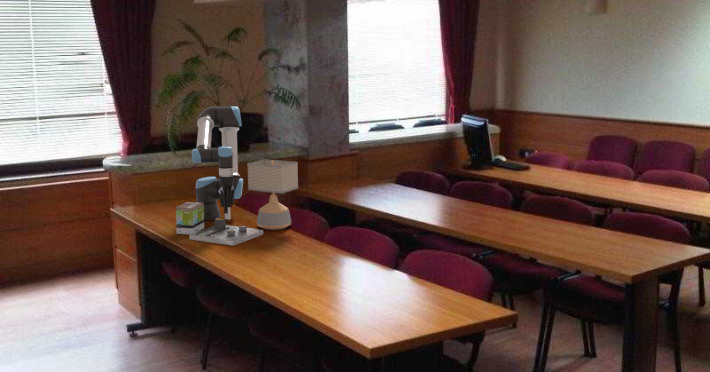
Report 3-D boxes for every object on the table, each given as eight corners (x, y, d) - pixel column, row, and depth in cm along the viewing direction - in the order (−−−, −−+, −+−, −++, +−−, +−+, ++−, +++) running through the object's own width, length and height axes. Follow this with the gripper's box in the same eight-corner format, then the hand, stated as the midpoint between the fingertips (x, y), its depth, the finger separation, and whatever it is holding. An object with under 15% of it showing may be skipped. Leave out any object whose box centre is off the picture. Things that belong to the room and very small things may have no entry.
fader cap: (218, 227, 422) (218, 217, 422) (225, 228, 420) (225, 218, 419) (214, 228, 420) (214, 219, 419) (222, 229, 418) (222, 220, 417)
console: (220, 228, 431) (219, 219, 430) (263, 234, 417) (263, 225, 416) (188, 239, 408) (188, 229, 407) (233, 245, 395) (232, 236, 394)
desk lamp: (300, 225, 436) (299, 160, 429) (281, 233, 419) (279, 165, 413) (267, 221, 446) (266, 157, 439) (247, 228, 429) (245, 162, 423)
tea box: (194, 235, 417) (192, 207, 414) (176, 234, 419) (174, 206, 416) (204, 228, 431) (203, 201, 429) (187, 227, 433) (186, 201, 431)
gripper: (228, 173, 428) (229, 216, 432) (212, 176, 417) (214, 220, 421) (239, 174, 424) (240, 217, 428) (224, 177, 413) (225, 222, 417)
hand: (227, 218), depth 424 cm, fingers closed
